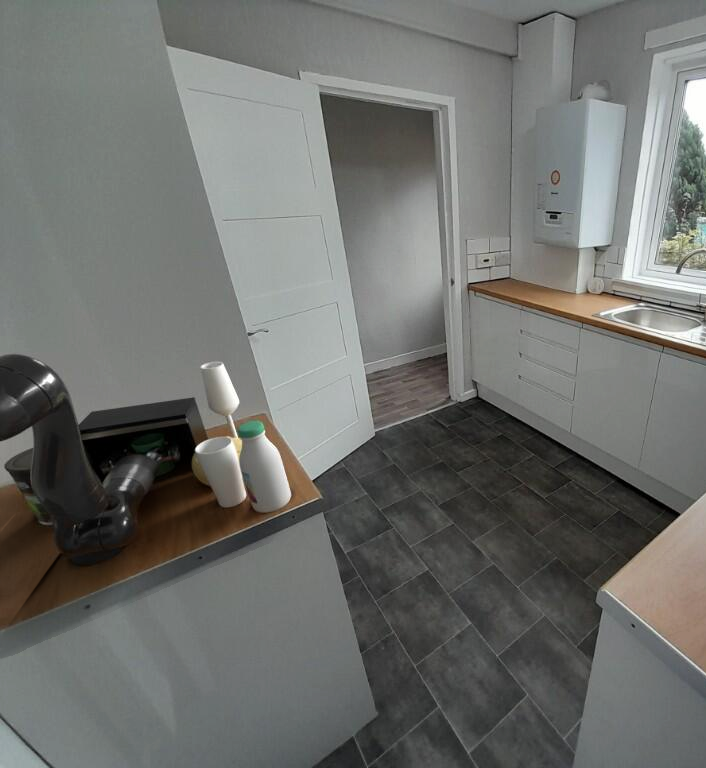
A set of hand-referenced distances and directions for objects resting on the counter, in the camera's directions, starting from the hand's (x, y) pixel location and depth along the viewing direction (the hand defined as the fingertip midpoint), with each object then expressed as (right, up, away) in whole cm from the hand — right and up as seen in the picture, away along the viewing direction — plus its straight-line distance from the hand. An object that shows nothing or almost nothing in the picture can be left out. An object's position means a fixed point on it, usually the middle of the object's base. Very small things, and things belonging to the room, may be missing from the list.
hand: (153, 441), depth 101 cm
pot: (+1, -7, +1) cm, 7 cm away
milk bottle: (+35, -12, -9) cm, 38 cm away
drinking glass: (+26, -12, -9) cm, 30 cm away
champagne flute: (+13, -3, +12) cm, 18 cm away
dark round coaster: (+10, -18, -22) cm, 30 cm away
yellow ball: (+20, -9, -1) cm, 22 cm away
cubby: (+1, -7, +1) cm, 7 cm away
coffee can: (-7, -13, -12) cm, 19 cm away
